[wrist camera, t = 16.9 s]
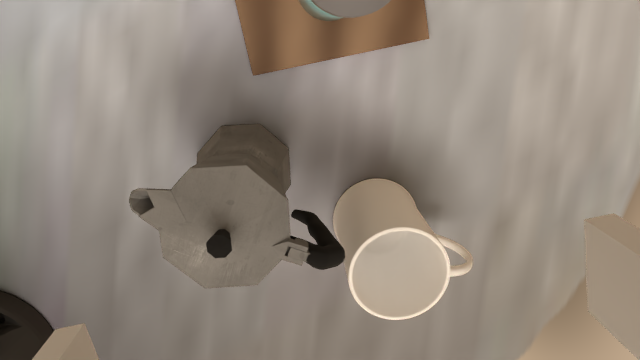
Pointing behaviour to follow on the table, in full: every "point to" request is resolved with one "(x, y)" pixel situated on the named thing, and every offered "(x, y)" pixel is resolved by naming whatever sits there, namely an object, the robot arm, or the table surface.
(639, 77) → the table surface
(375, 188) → the mug
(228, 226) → the coffeepot
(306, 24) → the pad
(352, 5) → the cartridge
